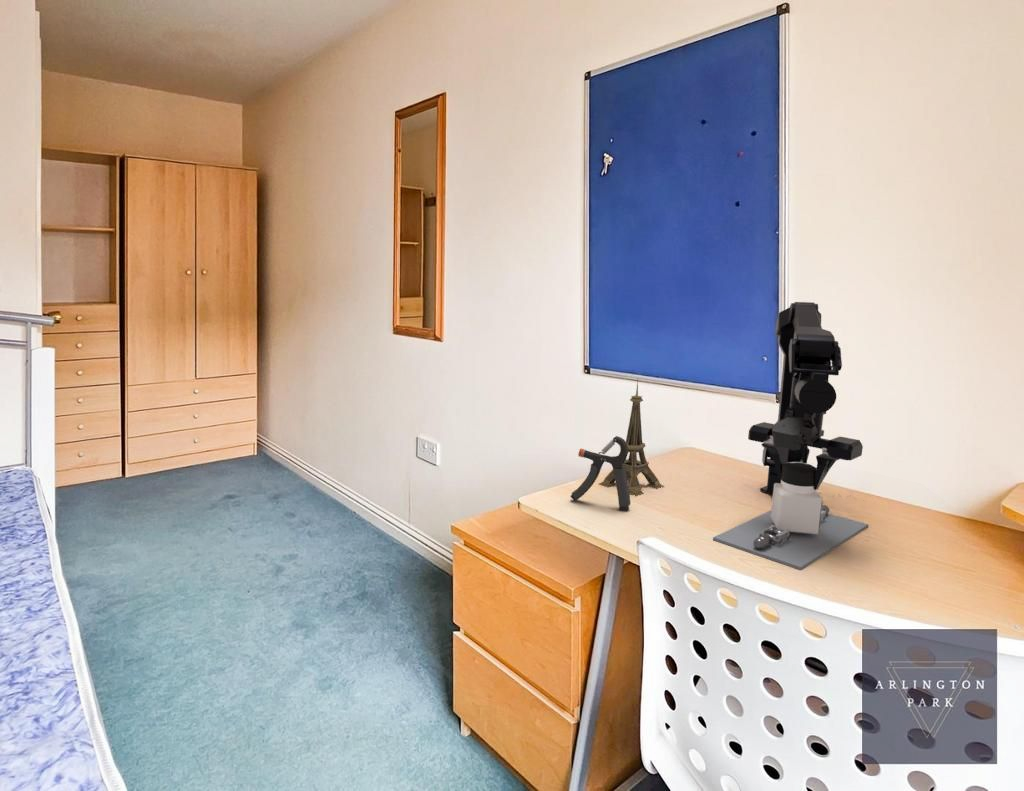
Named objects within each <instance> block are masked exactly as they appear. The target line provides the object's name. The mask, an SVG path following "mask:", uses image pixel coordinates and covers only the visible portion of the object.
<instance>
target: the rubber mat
mask: <svg viewBox="0 0 1024 791" xmlns="http://www.w3.org/2000/svg"><path fill="white" fill-rule="evenodd" d="M770 525H775V524H774V522H773V520H772V518H771V509H770V510H769V511H766V512H764V513H762V514H760V515H758V516H756V517H754V518H751V519H750V520H747V521H745V522H743V523H741V524H739V525H737V526H734V527H732V528H730V529H727V530H726V531H724V532H722V533H719V534H717V535H715V536H714V537H712V541H715V542H718V543H721V544H724V545H726V546H729V547H732V548H736V549H739V550H740V551H744V552H747V553H750V554H753V555H754V556H759V557H761V558H765V559H768V560H771V561H774V562H775V563H779V564H782V565H785V566H788V567H791V568H793V569H796V570H800V571H801V570H803V569H805V568H806V567H808V566H809V565H811V564H813V562H815V561H817V560H818V559H819V560H820V558H822V557H824V556H825V555H827V554H828V553H830V552H831V551H833V550H834V549H835V548H838V547H839V546H841V545H842V544H844V543H845V542H847V541H848V540H850V539H852V538H853V537H854V536H856V535H858V534H860V533H861V532H862V531H864V530H865V529H867V528H869V523H865V522H863V521H862V522H861V521H859V520H855V519H850V518H847V517H843V516H840V515H837V514H831V513H830V512H829V513H828V514H826V518H825V521H824V522H822V523H821V524H820V525H819V533H818V534H808V533H797V532H790V541H788V542H786V543H785V544H783V545H781V546H779V547H776V546H774V545H775V543H774V542H772V543H771V545H769V546H767V547H766V548H764V549H762V550H758V549H756V548H755V547H754V545H753V542H754V540H755V539H756V538H758V537H759V535H760V530H762V529H764V528H766V527H768V526H770ZM775 529H777V528H776V526H775Z"/></svg>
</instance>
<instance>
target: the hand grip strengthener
mask: <svg viewBox="0 0 1024 791" xmlns="http://www.w3.org/2000/svg"><path fill="white" fill-rule="evenodd" d="M615 444H617V445H618V446H619V450H620V451H619V453H618V455H614V456H609V455H606V454H607V452H608V451H610V449H612V447H613V446H614V445H615ZM627 453H628V454H629V452H628V447H627V444H626V439H624V438H622V437H620V436H617V435H616V436H615V437H612V439H611V440H610V441H609V442H608V443H607V444H606V445H605V446H604V447H603V448H602V449H601V451H599V452H598V453H596V452H593V451H589V450H587V449H584V448H580V449H579V450H578V453H577V454H578V457H580V458H583V459H589V460H590V461H592V463H591V464H590V468H589V472H588V475H587V476H586V478H585V479H584V480H583V482H582V483H581V484H580V485H579V487H578V488H577V489H575V490H574V491H572V492H571V495H570V498H571V499H572V501H574V502H576V501H577V500H579V499H580V498H582V497H583V496H585V494H586V493H587V492H588V491H589V490H590V489H591V487H592V486H593V485H594V483H595V482H596V480H597V478H598V477H599V474H600V472H601V470H602V467H603V465H604V463H609V464H610V465H611V466H612V470H613V472H614V476H615V483H616V485H615V486H616V491H617V492H616V493H617V500H618V509H619V511H625V512H626V511H629V509H630V505H631V495H630V494H629V482H628V480H627V476H626V472H625V467H623V466H622V460H623V459H624V458H625V457H626V455H627ZM627 456H628V455H627Z"/></svg>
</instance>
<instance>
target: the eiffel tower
mask: <svg viewBox="0 0 1024 791" xmlns="http://www.w3.org/2000/svg"><path fill="white" fill-rule="evenodd" d="M635 390H636V391H635V395H631V396H630V397H631V398H630V399H629V401H631V402H632V406H631V411H630V416H629V422H628V427H627V433H626V439H625V442H626V444H627V447H628V453H627V455H626V457H625V458H624V459H623V460H622V466H623V467H625V472H626V476H627V481H630V482H629V484H628V487H629V494H630V496H633V495H635V496H634V497H638V495H639V496H641V494H642V495H644V494H645V493H644V492H643V490H642V488H641V484H640V480H639V479H638V478H639V477H638V476H639V474H642V476H644V478H645V479H646V481H647V482H648V483H647V485H646V486H647V487H648V486H649V487H648V488H651V487H652V489H655V488H656V490H659V489H658V488H660V489H662V488H665V485H662V484H661V483H660V479H658V478H657V476H656V473H654V472H653V470H652V469H651V468H650V466H649V464H650V462H648V461H647V458H646V454H645V450H644V448H645V447H646V443H645V442H643V433H642V431H643V430H642V415H641V403H642V402H643V401H644V400H643V395H642V396H641V395H639V379H637V383H636V389H635ZM637 453H638V454H637ZM628 454H629V456H628ZM637 455H638V456H637ZM638 457H639V460H638ZM598 485H599V486H602V487H605V488H611V487H614V486H616V481H615V476H614V472H613V469H612V470H611V471H610V472H609V473H608V474H607V475H606V476H605V478H604V479H603V480H602V481H601V482H600V483H598ZM661 487H662V488H661Z"/></svg>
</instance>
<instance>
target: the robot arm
mask: <svg viewBox="0 0 1024 791" xmlns="http://www.w3.org/2000/svg"><path fill="white" fill-rule="evenodd" d="M775 322H776V323H775V330H774V331H775V332H774V333H775V334H774V335H775V336H776V337H777V345H778V347H779V348H780V351H781V352H782V354H783V361H782V373H781V374H782V375H781V384H780V396H779V404H778V414H777V415H778V416H777V421H776V422H775V423H769V422H765V421H763V422H760V423H756V424H753V425H752V426H750V428H749V430H748V434H747V435H748V436H747V437H748V440H749V441H753V442H758V443H761V447H762V448H763V450H762V458H761V461H762V464H763V467H768V472H767V481H766V485H765V486H763V487H760V492H764V493H767V494H771V495H773V490H774V484H775V483H781V476H782V466H783V465H784V464H786V463H789V462H802V463H807V464H808V458H809V455H810V453H811V452H810V451H811V450H810V449H809V447H811V448H815V449H821V453H820V454H818V455H815V458H816V463H817V465H816V473H815V479H814V490H816V491H817V490H819V488H820V486H821V485H822V483H823V481H824V480H825V478H826V476H827V475H828V473H829V471H830V470H831V468H832V467H833V465H834V464H835V463H836V462H837V461H839V460H843V461H852V460H855V459H857V458H859V457H862V455H863V449H864V448H863V443H862V442H861V440H860V439H855V438H850V437H845V436H838V437H837V436H836V437H834V438H832V439H826V438H822V437H824V435H825V430H823V422H824V421H823V420H824V415H827V412H828V411H829V410H830V409H832V407H833V406H834V405H835V403H836V401H837V392H836V389H835V387H834V386H833V385H832V384H831V382H829V377H830V376H839V374H840V371H841V370H842V368H843V367H842V366H843V361H842V349H841V347H840V346H839V341H838V340H835V335H834V334H833V333H832V332H831V330H827V329H824V328H823V327H822V313H821V312H820V311H819V304H818V303H815V302H809V301H795V302H791V303H790V306H789V307H787V308H786V309H783V310H781V311H780V312H779V313H778V315H777V319H776V321H775Z"/></svg>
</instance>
